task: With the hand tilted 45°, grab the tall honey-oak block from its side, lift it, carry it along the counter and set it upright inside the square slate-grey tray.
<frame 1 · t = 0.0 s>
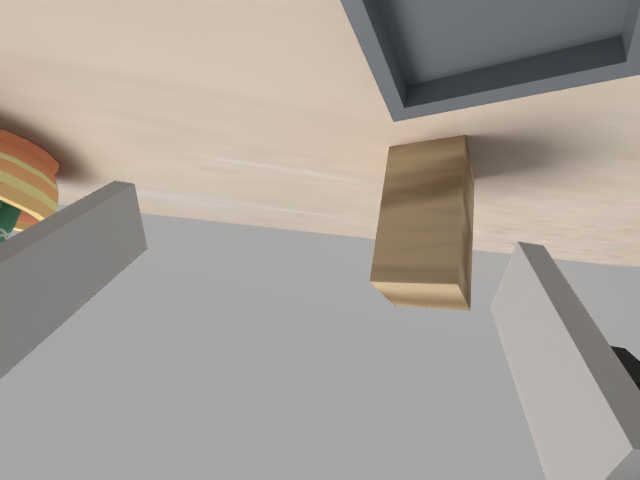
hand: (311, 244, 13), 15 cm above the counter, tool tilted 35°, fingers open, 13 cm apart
oak block: (432, 163, 32), on the counter
potted cactus: (19, 149, 45), on the counter
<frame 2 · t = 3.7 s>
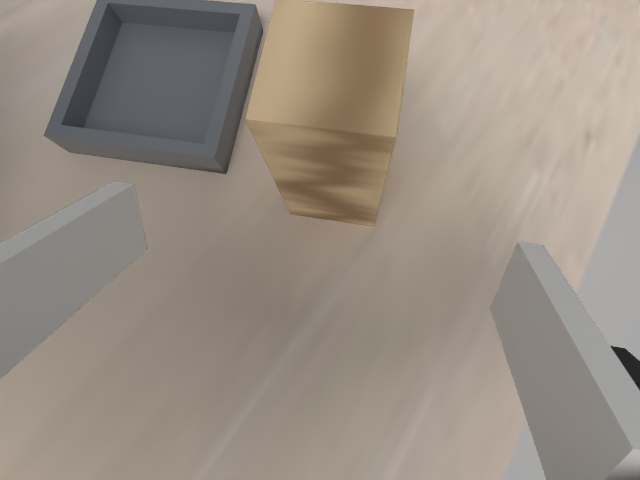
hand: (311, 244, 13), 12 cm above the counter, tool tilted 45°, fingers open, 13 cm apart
oak block: (338, 181, 27), on the counter
slate tray: (168, 89, 30), on the counter
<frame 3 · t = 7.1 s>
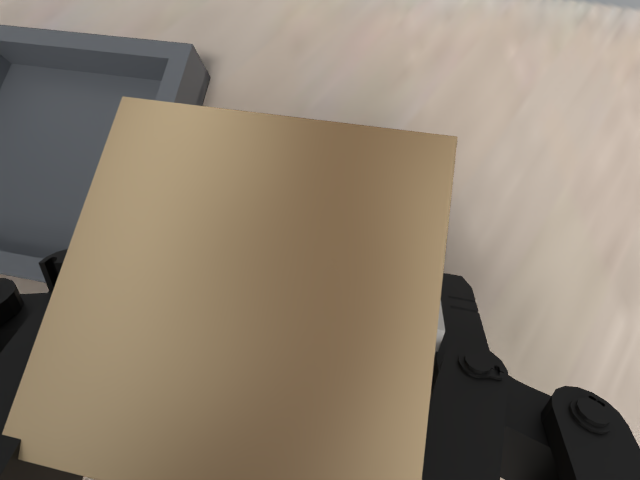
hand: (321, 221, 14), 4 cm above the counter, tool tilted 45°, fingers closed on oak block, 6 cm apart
oak block: (313, 318, 17), on the counter, touching gripper
slate tray: (70, 164, 20), on the counter
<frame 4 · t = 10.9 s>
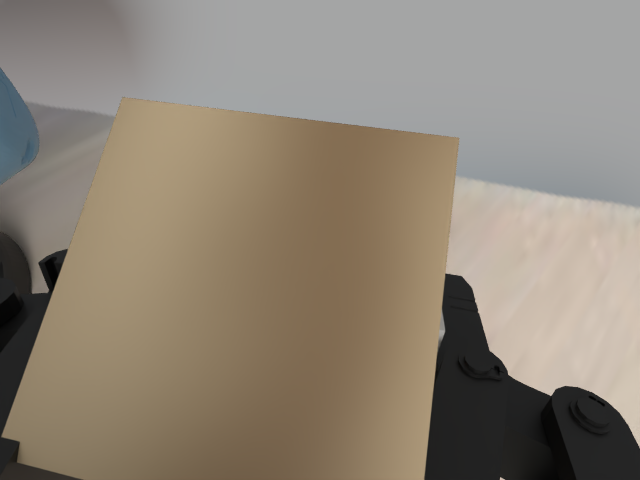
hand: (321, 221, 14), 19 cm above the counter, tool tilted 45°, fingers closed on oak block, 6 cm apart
oak block: (313, 319, 17), point 15 cm above the counter, touching gripper
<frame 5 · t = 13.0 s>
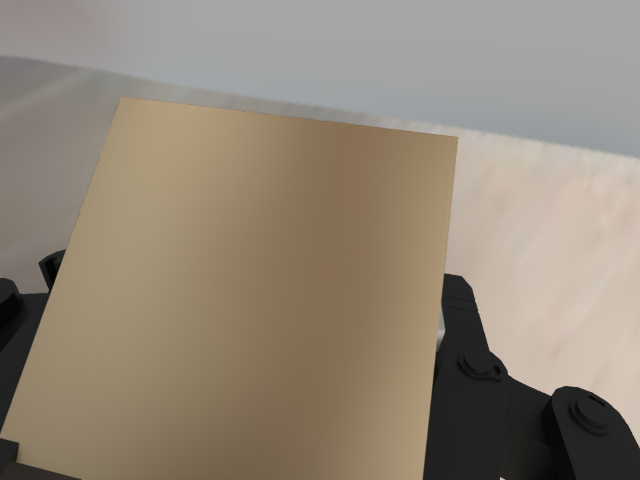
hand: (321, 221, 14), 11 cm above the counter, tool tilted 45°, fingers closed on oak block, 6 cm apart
oak block: (313, 319, 17), point 7 cm above the counter, touching gripper
when the fingers open (6 cm above the counter, at t = 14.9 s): oak block drops 1 cm, resting on slate tray.
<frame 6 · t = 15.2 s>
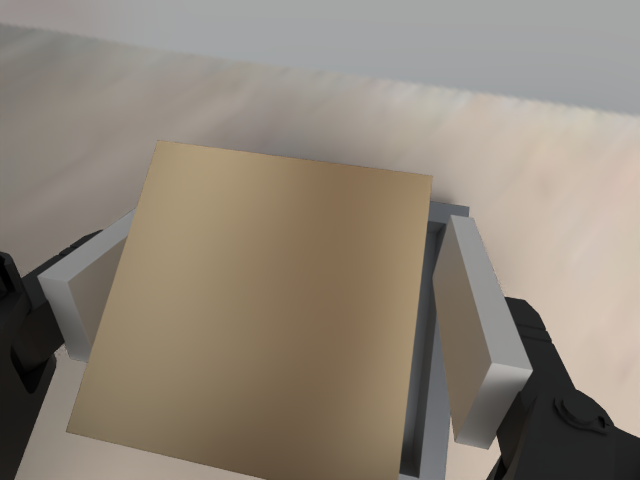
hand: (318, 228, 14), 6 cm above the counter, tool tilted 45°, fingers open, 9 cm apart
oak block: (314, 320, 19), point 1 cm above the counter, touching slate tray
slate tray: (316, 320, 19), on the counter
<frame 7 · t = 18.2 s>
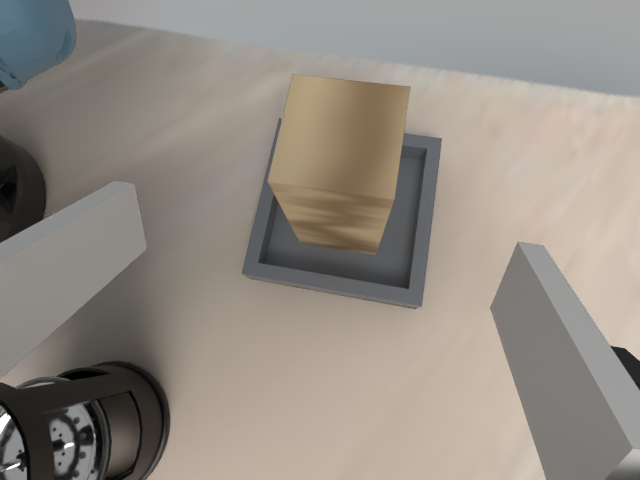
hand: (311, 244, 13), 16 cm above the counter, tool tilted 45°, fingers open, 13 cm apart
french press: (105, 432, 27), on the counter
oak block: (343, 213, 29), point 1 cm above the counter, touching slate tray
slate tray: (344, 214, 30), on the counter
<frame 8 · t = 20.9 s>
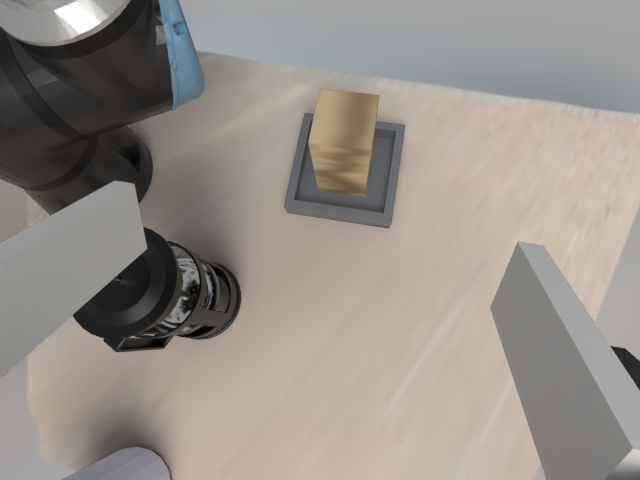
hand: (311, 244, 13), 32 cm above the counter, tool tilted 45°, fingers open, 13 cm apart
french press: (201, 303, 45), on the counter
oak block: (345, 171, 47), point 1 cm above the counter, touching slate tray
slate tray: (345, 173, 48), on the counter
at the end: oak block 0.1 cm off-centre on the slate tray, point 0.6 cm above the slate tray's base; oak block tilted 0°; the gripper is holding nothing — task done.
